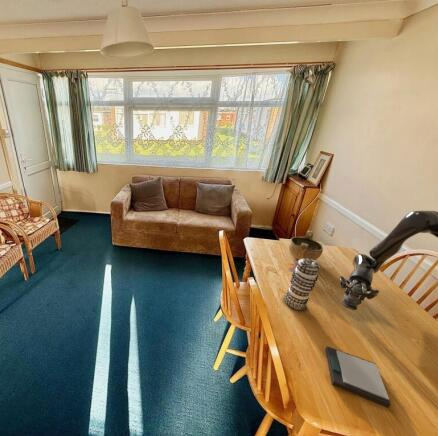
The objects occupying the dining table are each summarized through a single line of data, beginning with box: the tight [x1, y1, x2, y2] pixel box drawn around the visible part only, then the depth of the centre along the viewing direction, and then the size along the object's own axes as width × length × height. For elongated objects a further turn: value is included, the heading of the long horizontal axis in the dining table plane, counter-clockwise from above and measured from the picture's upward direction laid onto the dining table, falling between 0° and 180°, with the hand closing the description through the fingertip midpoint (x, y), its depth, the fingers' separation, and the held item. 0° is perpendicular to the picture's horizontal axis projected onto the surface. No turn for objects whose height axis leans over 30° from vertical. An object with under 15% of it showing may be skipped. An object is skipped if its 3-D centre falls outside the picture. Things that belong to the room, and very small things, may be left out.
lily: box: [287, 258, 298, 273], centre depth 125 cm, size 12×12×10 cm
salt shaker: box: [341, 284, 363, 311], centre depth 98 cm, size 6×6×12 cm
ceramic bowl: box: [288, 230, 324, 261], centre depth 138 cm, size 22×17×15 cm
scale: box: [324, 346, 392, 409], centre depth 77 cm, size 14×14×4 cm
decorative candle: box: [284, 258, 321, 311], centre depth 102 cm, size 9×9×25 cm
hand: (354, 296), depth 96 cm, fingers closed on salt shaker, 3 cm apart
